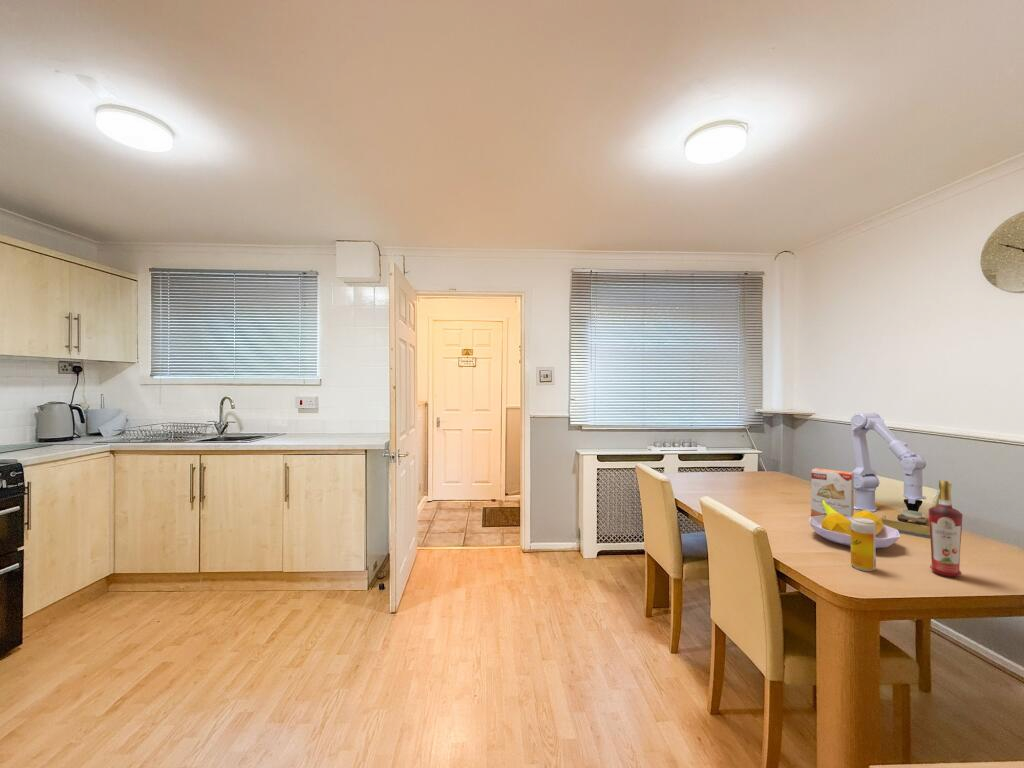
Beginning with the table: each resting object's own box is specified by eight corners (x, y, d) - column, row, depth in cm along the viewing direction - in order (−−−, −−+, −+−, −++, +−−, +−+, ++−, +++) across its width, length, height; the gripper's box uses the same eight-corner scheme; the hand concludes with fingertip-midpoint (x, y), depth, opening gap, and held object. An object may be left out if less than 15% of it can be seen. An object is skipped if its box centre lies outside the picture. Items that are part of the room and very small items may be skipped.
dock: (883, 520, 185) (882, 510, 185) (942, 530, 172) (942, 519, 172) (877, 528, 174) (877, 518, 174) (941, 540, 161) (941, 529, 161)
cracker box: (810, 518, 188) (810, 469, 188) (813, 515, 192) (813, 467, 193) (851, 525, 178) (851, 474, 178) (854, 522, 183) (853, 471, 183)
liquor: (961, 573, 133) (961, 481, 133) (963, 582, 127) (963, 485, 127) (928, 567, 138) (927, 477, 138) (929, 574, 132) (928, 481, 132)
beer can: (851, 562, 141) (851, 515, 141) (875, 567, 137) (875, 519, 137) (850, 568, 137) (850, 520, 137) (875, 573, 133) (875, 524, 133)
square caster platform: (898, 521, 185) (898, 508, 185) (927, 525, 179) (927, 512, 179) (896, 521, 178) (897, 508, 178) (926, 527, 172) (926, 513, 172)
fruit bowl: (917, 560, 143) (917, 525, 143) (820, 550, 152) (820, 517, 152) (878, 532, 170) (878, 503, 170) (797, 525, 178) (796, 497, 179)
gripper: (925, 489, 175) (925, 523, 175) (927, 483, 185) (927, 516, 185) (901, 486, 180) (901, 519, 180) (904, 481, 190) (904, 512, 190)
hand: (913, 517), depth 183 cm, fingers closed
